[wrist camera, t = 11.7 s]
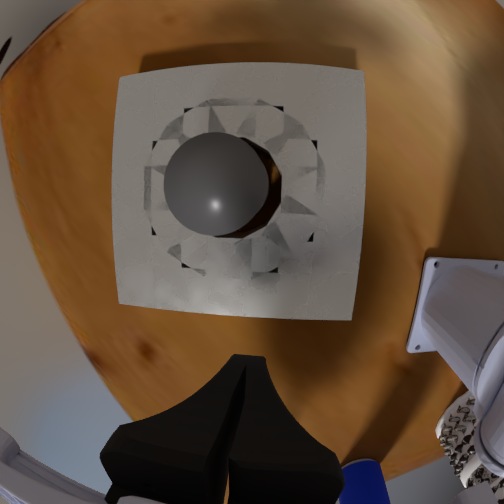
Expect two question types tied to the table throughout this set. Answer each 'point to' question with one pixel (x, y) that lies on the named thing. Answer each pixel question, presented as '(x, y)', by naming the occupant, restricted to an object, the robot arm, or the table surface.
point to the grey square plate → (285, 215)
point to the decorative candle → (465, 445)
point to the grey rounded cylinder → (215, 183)
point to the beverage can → (364, 483)
